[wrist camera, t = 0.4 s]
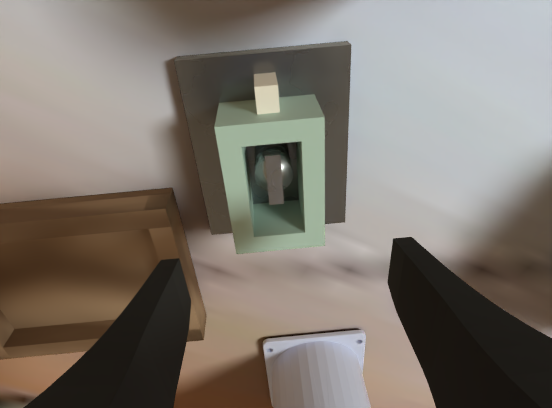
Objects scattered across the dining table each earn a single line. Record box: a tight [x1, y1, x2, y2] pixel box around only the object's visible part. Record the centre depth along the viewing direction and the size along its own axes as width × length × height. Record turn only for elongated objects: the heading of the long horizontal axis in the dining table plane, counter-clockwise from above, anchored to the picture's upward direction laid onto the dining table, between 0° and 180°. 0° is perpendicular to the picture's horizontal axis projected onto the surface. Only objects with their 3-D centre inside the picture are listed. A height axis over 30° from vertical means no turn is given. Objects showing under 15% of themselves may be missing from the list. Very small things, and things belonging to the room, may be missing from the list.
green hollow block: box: [214, 72, 325, 254], centre depth 19 cm, size 8×5×3 cm, turn 4°
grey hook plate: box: [174, 41, 351, 235], centre depth 19 cm, size 10×8×4 cm
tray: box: [0, 188, 206, 360], centre depth 24 cm, size 11×14×2 cm
